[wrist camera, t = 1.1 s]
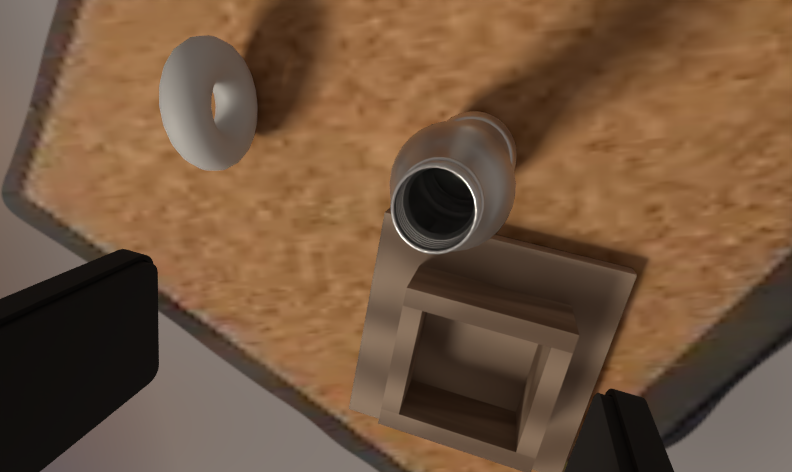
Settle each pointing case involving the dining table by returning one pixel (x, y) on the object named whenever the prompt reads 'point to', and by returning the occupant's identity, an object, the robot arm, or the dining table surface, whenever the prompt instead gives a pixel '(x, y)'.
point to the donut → (208, 103)
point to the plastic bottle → (454, 183)
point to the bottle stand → (487, 345)
